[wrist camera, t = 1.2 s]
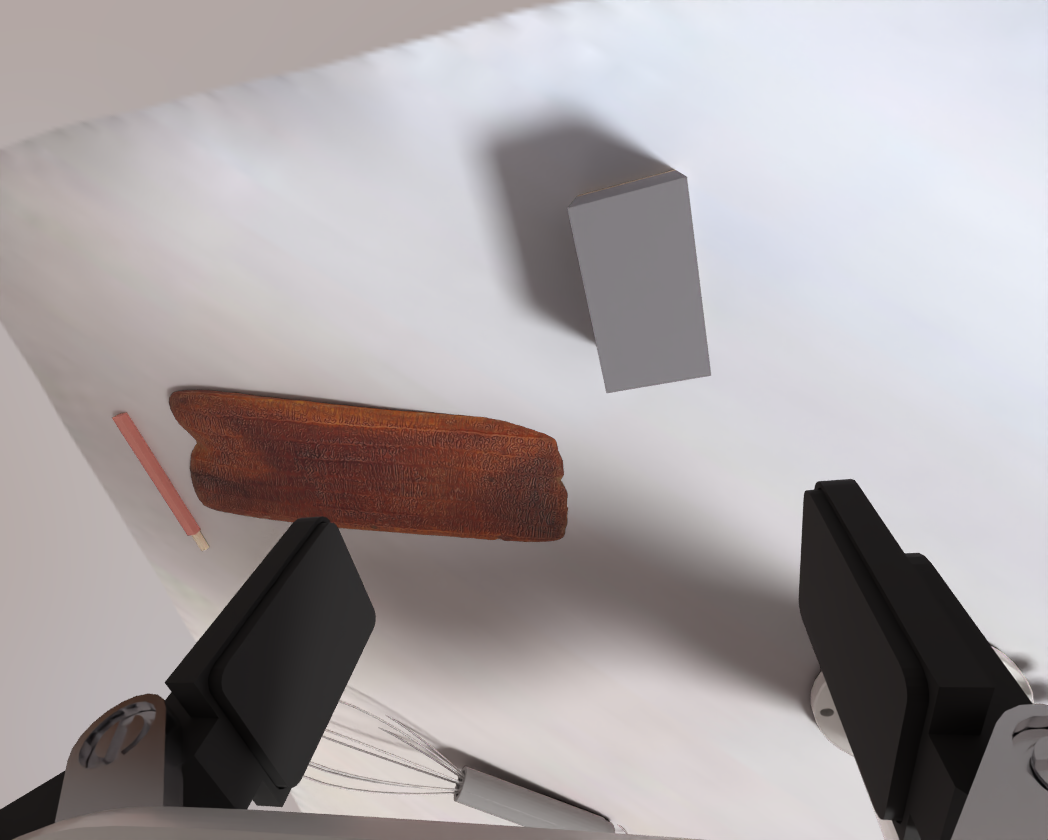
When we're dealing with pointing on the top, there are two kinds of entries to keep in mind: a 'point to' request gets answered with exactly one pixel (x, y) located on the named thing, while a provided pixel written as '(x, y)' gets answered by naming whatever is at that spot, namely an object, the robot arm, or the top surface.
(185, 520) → the carpenter pencil
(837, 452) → the top surface
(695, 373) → the sanding block
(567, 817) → the kitchen whisk
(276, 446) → the wooden tablet
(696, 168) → the top surface
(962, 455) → the top surface
